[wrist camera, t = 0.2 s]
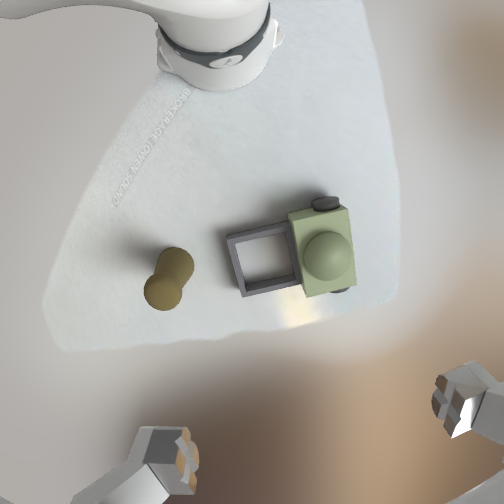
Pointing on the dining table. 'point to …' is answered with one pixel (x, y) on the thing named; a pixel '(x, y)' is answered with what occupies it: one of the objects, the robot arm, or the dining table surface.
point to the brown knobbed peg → (169, 279)
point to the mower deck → (307, 250)
